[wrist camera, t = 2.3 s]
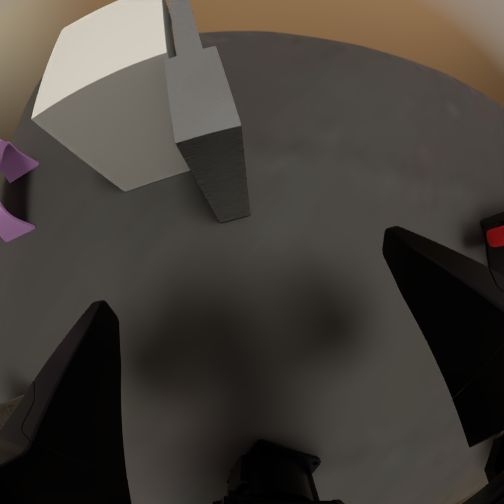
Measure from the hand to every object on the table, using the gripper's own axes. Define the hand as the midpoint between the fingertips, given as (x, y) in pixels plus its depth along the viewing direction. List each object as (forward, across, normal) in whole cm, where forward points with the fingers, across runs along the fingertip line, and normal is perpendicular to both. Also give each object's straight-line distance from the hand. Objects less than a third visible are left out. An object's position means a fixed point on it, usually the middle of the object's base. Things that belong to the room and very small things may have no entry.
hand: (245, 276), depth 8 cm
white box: (+20, +5, -2) cm, 21 cm away
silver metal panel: (+18, 0, 0) cm, 18 cm away
